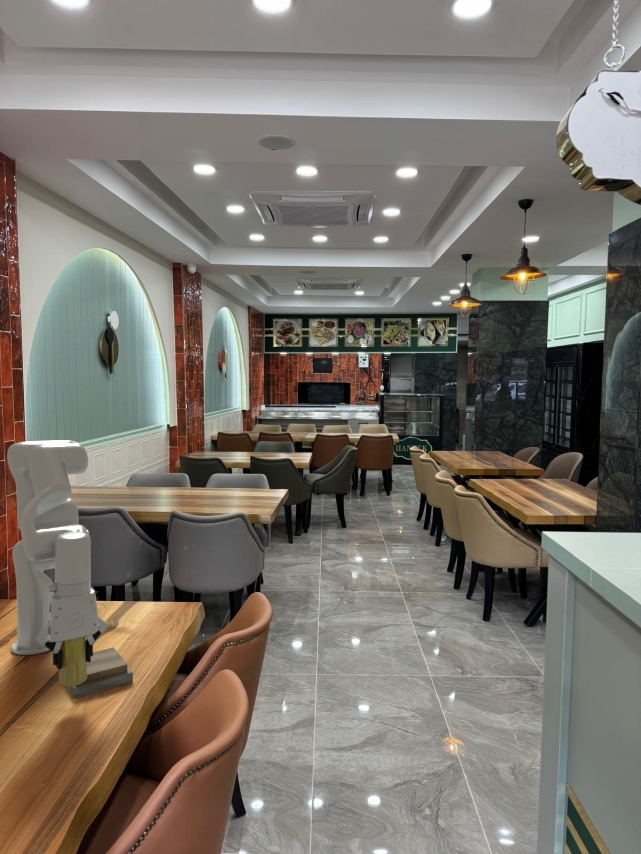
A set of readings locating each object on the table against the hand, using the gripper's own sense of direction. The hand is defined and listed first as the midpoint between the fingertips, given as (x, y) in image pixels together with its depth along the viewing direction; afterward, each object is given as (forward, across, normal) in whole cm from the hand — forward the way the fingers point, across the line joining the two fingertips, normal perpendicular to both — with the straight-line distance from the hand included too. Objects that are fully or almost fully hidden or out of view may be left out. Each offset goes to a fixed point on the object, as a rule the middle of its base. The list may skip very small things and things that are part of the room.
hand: (73, 662), depth 131 cm
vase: (+4, 0, 0) cm, 4 cm away
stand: (+11, +8, +11) cm, 17 cm away
